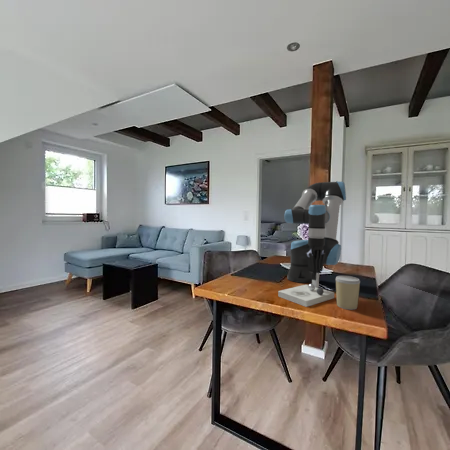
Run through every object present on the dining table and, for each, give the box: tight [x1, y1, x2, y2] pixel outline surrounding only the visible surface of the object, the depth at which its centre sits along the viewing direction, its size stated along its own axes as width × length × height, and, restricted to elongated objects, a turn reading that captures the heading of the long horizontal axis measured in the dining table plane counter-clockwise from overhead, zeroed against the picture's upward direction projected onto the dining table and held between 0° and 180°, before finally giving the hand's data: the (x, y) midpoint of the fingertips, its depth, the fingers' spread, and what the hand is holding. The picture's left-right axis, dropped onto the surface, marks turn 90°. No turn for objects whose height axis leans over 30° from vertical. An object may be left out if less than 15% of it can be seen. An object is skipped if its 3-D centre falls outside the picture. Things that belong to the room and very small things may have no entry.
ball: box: [317, 287, 324, 295], centre depth 115 cm, size 3×3×3 cm
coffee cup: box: [335, 275, 361, 311], centre depth 107 cm, size 9×9×12 cm
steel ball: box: [307, 283, 315, 291], centre depth 121 cm, size 3×3×3 cm
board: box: [277, 284, 335, 308], centre depth 119 cm, size 20×16×2 cm
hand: (315, 286), depth 122 cm, fingers closed
